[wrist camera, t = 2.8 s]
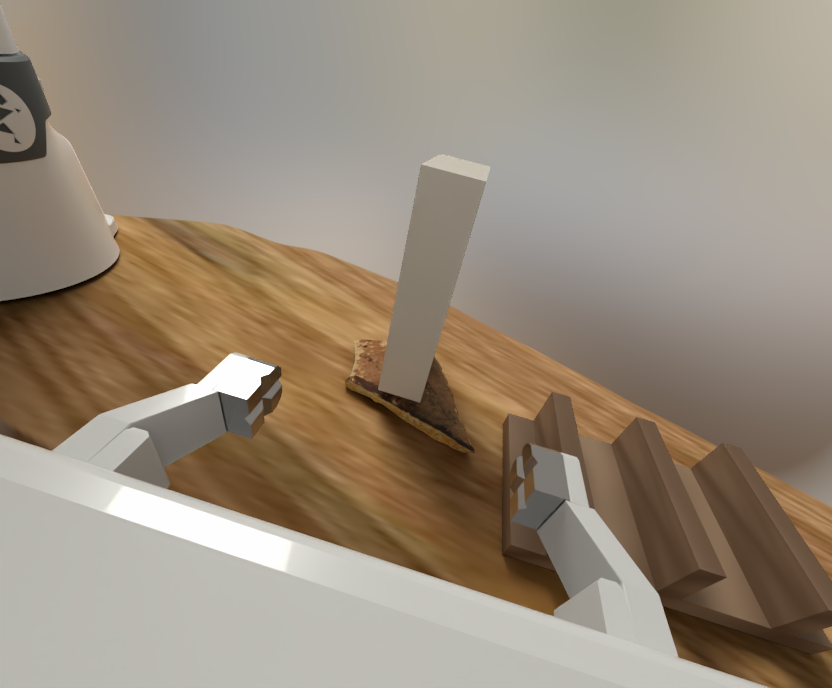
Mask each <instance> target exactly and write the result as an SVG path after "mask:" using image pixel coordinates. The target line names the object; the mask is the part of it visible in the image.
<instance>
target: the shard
mask: <svg viewBox="0 0 832 688" xmlns="http://www.w3.org/2000/svg"><path fill="white" fill-rule="evenodd" d="M386 345H387V341H375V340H358V341H356V342H355V343H354V348H355V363H354V367H353V370H352V373H351V375H350V376H349V377H348V378H347V379H346V381H345V385H346V387H348V388H349V389H350V390H352V391H355V392H357V393H360V394H362V395H364V396H367V397H369V398H371V399H372V400H373V401H375V402H377V403H380V404H382V405H384V406H385V407H386V408H388V409H389V410H391V411H392V412H393V413H394V414H396V415H397V416H398V417H400V418H401V419H403V420H405V421H406V422H407V423H409V424H410V425H412V426H414V427H416V428H417V429H419V430H420V431H422V432H424V433H425V434H427V435H428V436H430V437H431V438H433V439H435V440H437V441H439V442H442V443H443V444H446V445H448V446H450V447H451V448H453V449H454V450H458V451H460V452H463V453H467V451H468V452H470V453H474V452H475V451H474V449H473V447H472V445H471V443H470V441H469V438H468V435H467V433H466V429H465V428H464V426H463V424H462V422H461V421H460V417H459V415H458V412H457V409H456V406H455V403H454V399H453V395H452V393H451V391H450V389H449V386H448V382H447V380H446V377H445V375H444V374H443V372H442V368H441V366H440V364H439V362H438V360H437V359H436V358H435V356H434V358H433V362H432V365H431V368H430V372H429V375H428V378H427V382H426V385H425V388H424V392H423V395H422V398H421V402H420V403H419V402H416V401H413V400H410V399H406V398H403V397H400V396H397V395H393V394H390V393H387V392H383V391H380V390H378V387H379V382H380V377H381V371H382V366H383V361H384V356H385V351H386Z"/></svg>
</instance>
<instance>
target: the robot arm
mask: <svg viewBox="0 0 832 688" xmlns="http://www.w3.org/2000/svg"><path fill="white" fill-rule="evenodd" d="M43 91H45V90H44V88H43V85H42V83H41V80H40V78H39V77H37V75H36V73H35V70H34V68H33V66H32V63H31V61H30V59H29V57H28V56H26V55H25V54H23V53H22V52H21V51H19V50H18V48H17V45H16V43H15V40H14V38H13V35H12V33H11V30H10V27H9V25H8V22H7V20H6V17H5V14H4V12H3V9H2V7H1V4H0V301H4V300H11V299H17V298H23V297H29V296H34V295H38V294H43V293H47V292H51V291H55V290H58V289H62V288H65V287H68V286H71V285H74V284H77V283H80V282H82V281H85V280H87V279H89V278H92V277H94V276H96V275H98V274H99V273H101V272H103V271H104V270H106V269H107V268H109V267H110V266H111V265H112V264H113V263H114V262H115V261H116V260H117V258H118V256H119V252H120V250H119V246H118V244H117V243H116V241H115V239H114V237H113V236H114V235H115V233H116V232H117V230H118V226H117V224H116V221H115V219H114V218H113V217H112V216H110V215H106V214H104V213H103V211H102V209H101V207H100V205H99V203H98V201H97V198H96V196H95V194H94V192H93V190H92V188H91V185H90V184H89V181H88V179H87V177H86V175H85V173H84V171H83V169H82V167H81V164H80V162H79V160H78V158H77V156H76V154H75V152H74V150H73V148H72V146H71V144H70V143H69V141H68V140H67V139H66V138H65V137H63V136H62V135H61V134H59V133H58V132H56V131H55V130H54V129H53V128H52V127H51V126H50V124H49V123H48V121H47V119H48V118H49V117H50V115H51V111H50V108H49V105H48V103H47V100H46V98H45V95H44V92H43ZM280 376H281V368H280V367H278V366H276V365H273V364H270V363H267V362H264V361H261V360H258V359H255V358H252V357H248V356H245V355H242V354H239V353H236V352H235V353H232V354H230V355H228V356H227V357H226V358H225V359H224V360H223V361H222V362H221V363H220V364H219V365H218V366H216V367H215V368H214V369H213V370H212V371H211V372H210V373H209V374H208V375H207V376H205V377H204V378H203V379H202V380H201V381H200V382H199V383H198V384H197V385H196V384H193V383H192V384H189V385H186V386H183V387H180V388H177V389H174V390H171V391H168V392H165V393H162V394H159V395H156V396H153V397H150V398H147V399H144V400H141V401H138V402H135V403H132V404H129V405H126V406H123V407H120V408H117V409H114V410H111V411H108V412H105V413H102V414H99V415H98V416H97V417H95V418H94V419H93V420H91V421H90V422H89V423H87V424H86V425H85V426H84V427H82V428H81V429H80V430H78V431H77V432H76V433H74V434H73V435H72V436H71V437H69V438H68V439H67V440H65V441H64V442H63V443H61V444H60V445H59V446H58V447H56V448H55V449H54V450H52V451H50V450H47V449H44V448H41V447H38V446H35V445H32V444H28V443H25V442H22V441H19V440H16V439H13V438H10V437H7V436H4V435H1V434H0V688H769V687H766V686H763V685H760V684H757V683H754V682H751V681H748V680H745V679H742V678H739V677H736V676H733V675H730V674H727V673H724V672H721V671H718V670H715V669H712V668H709V667H706V666H703V665H700V664H697V663H694V662H691V661H688V660H684V659H681V658H678V654H677V651H676V648H675V645H674V642H673V638H672V635H671V632H670V629H669V626H668V622H667V619H666V616H665V613H664V610H663V606H662V603H661V600H660V597H659V594H658V593H657V592H656V590H655V589H654V588H653V586H652V585H651V584H650V582H649V581H648V580H647V579H646V577H645V576H644V575H643V573H642V572H641V571H640V569H639V568H638V567H637V565H636V564H635V563H634V561H633V560H632V559H631V557H630V556H629V555H628V553H627V552H626V551H625V549H624V548H623V547H622V545H621V544H620V543H619V541H618V540H617V539H616V537H615V536H614V535H613V533H612V532H611V531H610V529H609V528H608V527H607V525H606V524H605V523H604V521H603V520H602V519H601V517H600V516H599V515H598V513H597V512H596V511H595V510H594V509H592V508H589V504H588V499H587V494H586V490H585V485H584V481H583V476H582V471H581V467H580V462H579V460H578V458H577V457H574V456H571V455H568V454H565V453H561V452H558V451H555V450H552V449H548V448H545V447H541V446H538V445H535V444H531V443H527V444H526V445H525V446H524V447H523V449H522V456H520V457H517V458H516V460H515V461H514V463H513V465H512V468H511V472H510V479H509V487H510V488H511V490H512V491H513V493H514V494H513V496H512V497H511V499H510V521H513V522H515V523H518V524H521V525H524V526H527V527H530V528H533V529H536V530H538V531H537V533H538V535H539V537H540V539H541V541H542V543H543V545H544V547H545V549H546V551H547V553H548V555H549V557H550V559H551V561H552V563H553V565H554V567H555V570H556V572H557V574H558V576H559V578H560V580H561V582H562V584H563V586H564V588H565V590H566V592H567V594H568V596H569V598H570V599H569V600H568V601H566V602H565V603H563V604H562V605H560V606H559V607H558V608H556V609H555V610H554V616H551V615H548V614H545V613H542V612H539V611H536V610H532V609H529V608H526V607H523V606H520V605H517V604H514V603H511V602H508V601H505V600H502V599H499V598H496V597H493V596H490V595H487V594H484V593H481V592H478V591H475V590H472V589H469V588H466V587H463V586H460V585H457V584H454V583H451V582H448V581H445V580H442V579H438V578H435V577H432V576H429V575H426V574H423V573H420V572H417V571H414V570H411V569H408V568H405V567H402V566H399V565H396V564H393V563H390V562H387V561H384V560H381V559H378V558H375V557H372V556H369V555H366V554H363V553H360V552H357V551H354V550H351V549H347V548H344V547H341V546H338V545H335V544H332V543H329V542H326V541H323V540H320V539H317V538H314V537H311V536H308V535H305V534H302V533H299V532H296V531H293V530H290V529H287V528H284V527H281V526H278V525H275V524H272V523H269V522H266V521H262V520H259V519H256V518H253V517H250V516H247V515H244V514H241V513H238V512H235V511H232V510H229V509H226V508H223V507H220V506H217V505H214V504H211V503H208V502H205V501H202V500H199V499H196V498H193V497H190V496H187V495H183V494H180V493H177V492H174V491H171V490H168V489H167V488H168V487H169V486H170V480H169V478H168V475H167V473H166V471H165V469H164V467H166V466H167V465H169V464H171V463H173V462H175V461H176V460H178V459H180V458H182V457H184V456H186V455H187V454H189V453H191V452H193V451H195V450H196V449H198V448H200V447H202V446H204V445H205V444H207V443H209V442H211V441H213V440H214V439H216V438H218V437H220V436H222V435H223V434H225V433H226V431H228V432H231V433H235V434H238V435H242V436H245V437H248V438H252V439H253V437H254V436H255V435H256V433H257V432H258V431H259V429H260V428H261V427H262V425H263V424H264V423H265V422H264V416H265V415H267V414H269V413H271V412H273V411H274V409H275V408H276V406H277V405H278V402H279V400H280V398H281V394H282V384H281V383H280V382H279V380H278V379H279V378H280Z"/></svg>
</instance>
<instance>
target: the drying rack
mask: <svg viewBox="0 0 832 688" xmlns="http://www.w3.org/2000/svg"><path fill="white" fill-rule="evenodd" d="M527 443H531V444H535V445H538V446H541V447H545V448H548V449H552V450H555V451H558V452H561V453H565V454H568V455H571V456H574V457H577V458H578V460H579V462H580V467H581V471H582V476H583V481H584V485H585V490H586V494H587V499H588V504H589V508H592V509H594V510H595V511H596V512H597V513H598V515H599V516H600V517H601V519H602V520H603V521H604V523H605V524H606V525H607V527H608V528H609V529H610V531H611V532H612V533H613V535H614V536H615V537H616V539H617V540H618V541H619V543H620V544H621V545H622V547H623V548H624V549H625V551H626V552H627V553H628V555H629V556H630V557H631V559H632V560H633V561H634V563H635V564H636V565H637V567H638V568H639V569H640V571H641V572H642V573H643V575H644V576H645V577H646V579H647V580H648V581H649V582H650V584H651V585H652V586H653V588H654V589H655V590H656V592H657V593H658V594H659V597H660V600H661V603H662V606H664V607H667V608H670V609H673V610H676V611H679V612H682V613H685V614H688V615H691V616H694V617H698V618H701V619H704V620H707V621H710V622H713V623H716V624H719V625H722V626H725V627H728V628H732V629H735V630H738V631H741V632H744V633H747V634H750V635H753V636H756V637H759V638H762V639H765V640H769V641H772V642H775V643H778V644H781V645H784V646H787V647H790V648H793V649H796V650H799V651H803V652H806V653H809V654H815V653H819V652H823V651H827V650H831V649H832V645H831V643H830V641H829V640H828V638H827V636H826V635H825V633H824V631H823V630H822V629H824V628H828V627H831V626H832V581H831V579H830V578H829V577H828V575H827V574H826V572H825V571H824V569H823V568H822V566H821V565H820V563H819V562H818V560H817V559H816V557H815V556H814V554H813V553H812V552H811V550H810V549H809V547H808V546H807V544H806V543H805V541H804V540H803V538H802V537H801V535H800V534H799V532H798V531H797V530H796V528H795V527H794V525H793V524H792V522H791V521H790V519H789V518H788V516H787V515H786V513H785V512H784V510H783V509H782V507H781V506H780V505H779V503H778V502H777V500H776V499H775V497H774V496H773V494H772V493H771V491H770V490H769V488H768V487H767V485H766V484H765V482H764V481H763V480H762V478H761V477H760V475H759V474H758V472H757V471H756V469H755V468H754V466H753V465H752V463H751V462H750V461H749V459H748V458H747V456H746V455H745V453H744V452H743V450H742V449H741V448H738V447H735V446H731V445H728V444H724V443H722V444H721V445H720V446H718V447H717V448H716V449H715V450H713V451H712V452H711V453H710V454H708V455H707V456H706V457H705V458H703V459H702V460H701V461H700V462H698V463H697V464H696V465H695V466H693V467H692V468H691V469H690V468H686V467H683V466H680V465H677V464H674V463H673V461H672V458H671V456H670V454H669V452H668V450H667V448H666V446H665V443H664V441H663V439H662V437H661V435H660V433H659V430H658V428H657V426H656V424H655V423H654V422H651V421H648V420H644V419H641V418H638V417H636V418H635V419H634V420H633V422H632V423H631V424H630V425H629V426H628V427H627V428H626V429H625V430H624V431H623V432H622V433H621V435H620V436H619V437H618V438H617V439H616V440H615V441H614V442H613V443H612V444H608V443H604V442H601V441H598V440H594V439H591V438H588V437H585V436H581V435H578V430H577V426H576V421H575V417H574V412H573V408H572V403H571V399H570V397H568V396H564V395H561V394H558V393H554V392H552V393H551V395H550V396H549V398H548V399H547V401H546V402H545V404H544V406H543V407H542V409H541V410H540V412H539V413H538V415H537V416H536V418H535V420H534V421H532V420H529V419H525V418H522V417H519V416H516V415H512V414H508V416H507V418H506V420H505V421H504V423H503V502H502V554H503V555H506V556H509V557H512V558H515V559H518V560H522V561H525V562H528V563H531V564H534V565H537V566H540V567H543V568H546V569H549V570H552V571H556V570H555V567H554V565H553V563H552V561H551V559H550V557H549V555H548V553H547V551H546V549H545V547H544V545H543V543H542V541H541V539H540V537H539V535H538V533H537V531H538V530H536V529H533V528H530V527H527V526H524V525H521V524H518V523H515V522H513V521H510V499H511V497H512V496H513V494H514V493H513V491H512V490H511V488H510V487H509V479H510V472H511V468H512V465H513V463H514V461H515V460H516V458H517V457H520V456H522V449H523V447H524V446H525V445H526V444H527Z"/></svg>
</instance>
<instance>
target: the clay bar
mask: <svg viewBox="0 0 832 688" xmlns="http://www.w3.org/2000/svg"><path fill="white" fill-rule="evenodd" d="M489 170H490V167H489V166H486V165H482V164H478V163H474V162H470V161H466V160H463V159H459V158H455V157H451V156H447V155H444V154H440V155H438V156H436V157H435V158H432V159H431V160H429V161H427V162H425V163H423V164H421V168H420V174H419V178H418V184H417V189H416V195H415V199H414V205H413V210H412V215H411V220H410V225H409V231H408V237H407V241H406V246H405V252H404V257H403V262H402V268H401V273H400V278H399V283H398V288H397V293H396V298H395V304H394V309H393V314H392V319H391V325H390V330H389V335H388V340H387V345H386V351H385V356H384V361H383V366H382V371H381V377H380V382H379V387H378V390H380V391H383V392H387V393H390V394H393V395H397V396H400V397H403V398H406V399H410V400H413V401H416V402H419V403H420V402H421V398H422V395H423V392H424V388H425V385H426V382H427V378H428V375H429V372H430V368H431V365H432V362H433V358H434V355H435V352H436V348H437V345H438V341H439V338H440V335H441V331H442V328H443V325H444V321H445V318H446V315H447V311H448V308H449V305H450V301H451V298H452V294H453V291H454V288H455V284H456V281H457V278H458V274H459V271H460V268H461V265H462V261H463V258H464V255H465V251H466V248H467V244H468V241H469V238H470V235H471V231H472V228H473V224H474V221H475V218H476V214H477V211H478V208H479V204H480V201H481V198H482V194H483V191H484V187H485V184H486V181H487V177H488V173H489Z"/></svg>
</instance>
